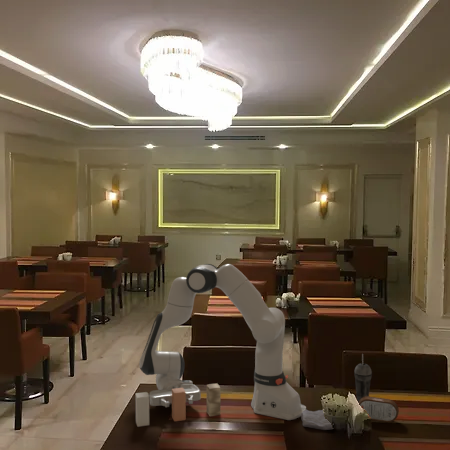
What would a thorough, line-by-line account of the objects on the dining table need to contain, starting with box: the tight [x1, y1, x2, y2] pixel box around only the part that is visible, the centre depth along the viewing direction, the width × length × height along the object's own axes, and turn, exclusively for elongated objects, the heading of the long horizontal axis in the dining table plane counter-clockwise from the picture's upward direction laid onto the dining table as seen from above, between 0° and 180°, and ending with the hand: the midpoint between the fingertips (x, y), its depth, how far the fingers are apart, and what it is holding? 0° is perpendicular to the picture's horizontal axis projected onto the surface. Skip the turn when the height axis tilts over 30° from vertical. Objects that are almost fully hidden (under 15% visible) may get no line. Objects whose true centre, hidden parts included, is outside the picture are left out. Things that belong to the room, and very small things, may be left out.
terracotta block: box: [171, 388, 187, 422], centre depth 198 cm, size 4×4×11 cm
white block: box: [135, 391, 150, 428], centre depth 194 cm, size 4×4×11 cm
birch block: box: [206, 382, 222, 417], centre depth 203 cm, size 4×4×11 cm
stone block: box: [300, 409, 334, 431], centre depth 194 cm, size 12×5×10 cm
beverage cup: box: [353, 353, 373, 402], centre depth 215 cm, size 7×7×20 cm
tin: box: [357, 395, 400, 423], centre depth 197 cm, size 15×3×8 cm, turn 71°
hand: (179, 403), depth 197 cm, fingers open, 8 cm apart
